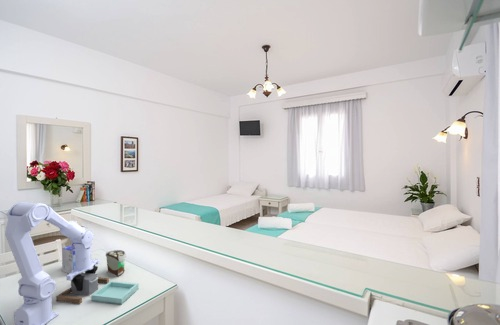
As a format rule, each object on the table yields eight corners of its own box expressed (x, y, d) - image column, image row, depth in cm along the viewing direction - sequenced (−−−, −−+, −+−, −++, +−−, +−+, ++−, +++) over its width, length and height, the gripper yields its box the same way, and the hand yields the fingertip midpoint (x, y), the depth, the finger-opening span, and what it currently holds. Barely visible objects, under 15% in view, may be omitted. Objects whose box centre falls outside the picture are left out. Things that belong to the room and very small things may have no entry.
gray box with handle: (91, 295, 98) (90, 279, 97) (71, 293, 100) (70, 277, 99) (100, 289, 102) (99, 274, 102) (80, 287, 104) (80, 272, 104)
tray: (121, 304, 92) (121, 298, 92) (91, 301, 94) (91, 295, 94) (138, 289, 102) (138, 283, 102) (111, 286, 105) (110, 280, 105)
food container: (131, 272, 117) (131, 253, 116) (119, 277, 111) (119, 258, 111) (118, 265, 123) (117, 247, 122) (106, 271, 118) (105, 252, 117)
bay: (79, 304, 93) (79, 299, 92) (56, 301, 94) (56, 296, 94) (108, 282, 108) (108, 278, 108) (88, 280, 110) (88, 276, 109)
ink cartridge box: (85, 270, 119) (83, 242, 118) (73, 275, 114) (72, 247, 113) (73, 266, 123) (72, 239, 122) (61, 271, 118) (60, 243, 117)
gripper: (76, 266, 92) (77, 298, 93) (104, 250, 107) (105, 278, 107) (61, 264, 93) (63, 296, 94) (91, 249, 108) (92, 277, 109)
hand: (84, 287), depth 101 cm, fingers closed on gray box with handle, 4 cm apart
